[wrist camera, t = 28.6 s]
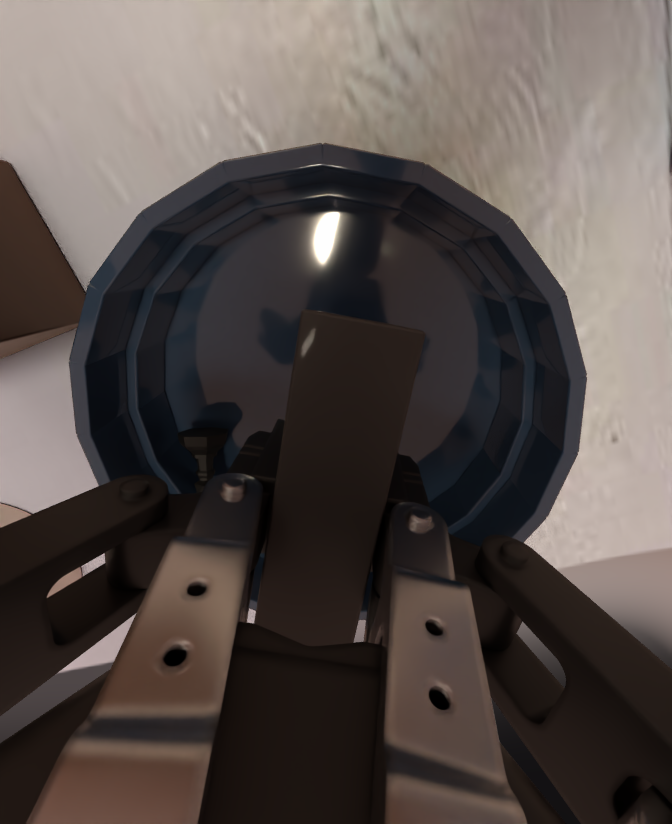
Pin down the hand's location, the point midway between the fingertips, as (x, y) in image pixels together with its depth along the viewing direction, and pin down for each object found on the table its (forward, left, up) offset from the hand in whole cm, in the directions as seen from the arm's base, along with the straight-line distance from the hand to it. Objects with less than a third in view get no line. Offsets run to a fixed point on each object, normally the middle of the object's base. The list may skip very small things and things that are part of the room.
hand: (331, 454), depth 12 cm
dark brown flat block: (0, +1, 0) cm, 1 cm away
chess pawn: (+5, +2, -3) cm, 7 cm away
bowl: (0, 0, -5) cm, 5 cm away
